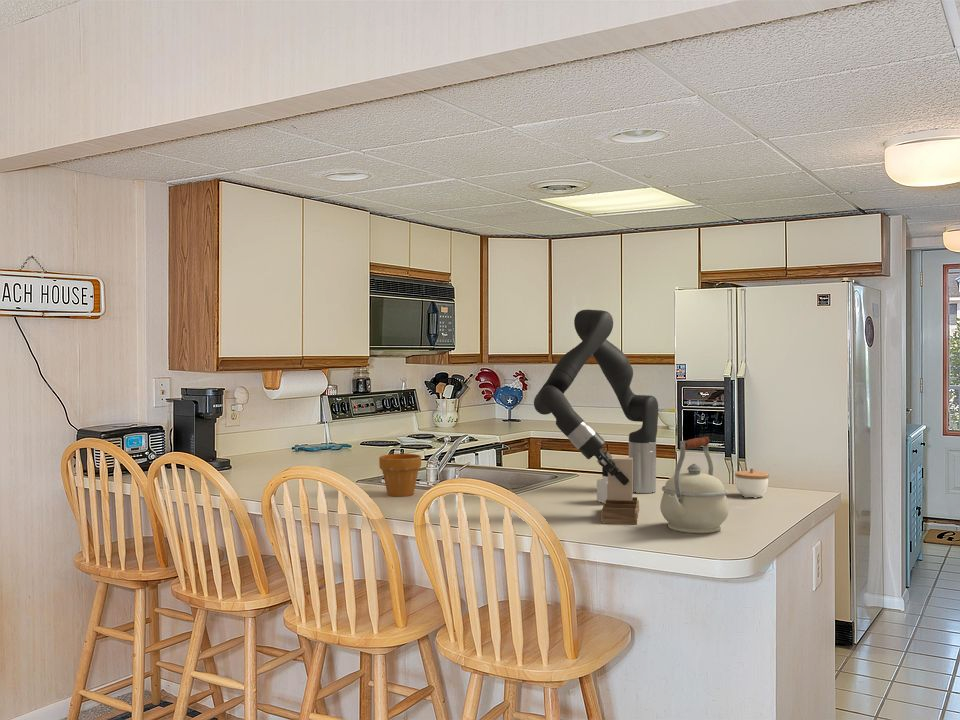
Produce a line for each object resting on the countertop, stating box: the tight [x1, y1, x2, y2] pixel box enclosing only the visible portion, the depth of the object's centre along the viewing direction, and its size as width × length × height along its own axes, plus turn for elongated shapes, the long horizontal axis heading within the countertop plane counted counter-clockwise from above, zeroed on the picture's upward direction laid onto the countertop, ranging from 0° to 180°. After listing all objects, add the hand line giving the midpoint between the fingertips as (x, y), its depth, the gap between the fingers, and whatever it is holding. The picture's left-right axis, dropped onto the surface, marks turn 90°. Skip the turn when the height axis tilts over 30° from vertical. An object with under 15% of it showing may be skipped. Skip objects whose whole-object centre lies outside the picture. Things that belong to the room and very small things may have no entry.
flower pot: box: [378, 453, 422, 498], centre depth 290 cm, size 14×14×13 cm
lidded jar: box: [734, 467, 770, 498], centre depth 286 cm, size 11×11×9 cm
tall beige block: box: [608, 456, 634, 501], centre depth 252 cm, size 4×7×12 cm, turn 78°
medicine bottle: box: [596, 466, 608, 504], centre depth 275 cm, size 7×7×12 cm
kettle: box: [659, 436, 730, 534], centre depth 235 cm, size 25×18×25 cm
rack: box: [600, 496, 640, 525], centre depth 253 cm, size 20×10×4 cm, turn 168°
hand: (627, 481), depth 252 cm, fingers closed on tall beige block, 4 cm apart
